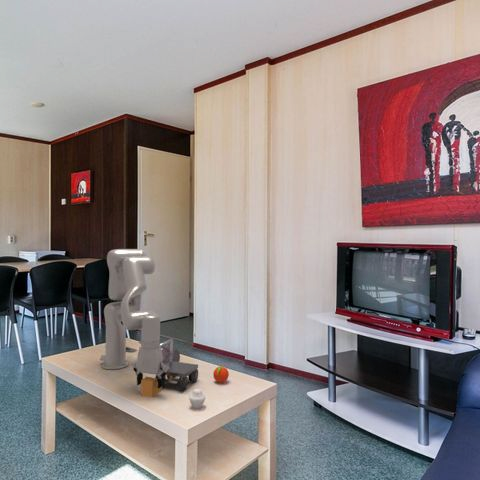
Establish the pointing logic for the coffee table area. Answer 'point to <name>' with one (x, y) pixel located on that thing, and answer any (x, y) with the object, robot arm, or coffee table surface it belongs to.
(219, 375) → the clementine
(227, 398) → the coffee table surface
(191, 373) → the trolley
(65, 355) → the coffee table surface
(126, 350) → the grey flat jagged piece
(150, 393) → the block
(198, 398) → the white lidded jar
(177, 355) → the stone
